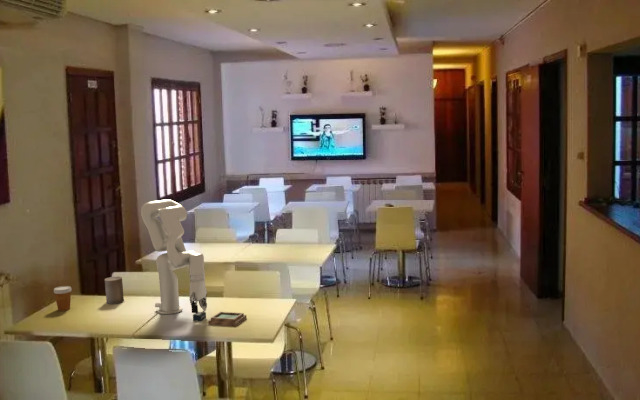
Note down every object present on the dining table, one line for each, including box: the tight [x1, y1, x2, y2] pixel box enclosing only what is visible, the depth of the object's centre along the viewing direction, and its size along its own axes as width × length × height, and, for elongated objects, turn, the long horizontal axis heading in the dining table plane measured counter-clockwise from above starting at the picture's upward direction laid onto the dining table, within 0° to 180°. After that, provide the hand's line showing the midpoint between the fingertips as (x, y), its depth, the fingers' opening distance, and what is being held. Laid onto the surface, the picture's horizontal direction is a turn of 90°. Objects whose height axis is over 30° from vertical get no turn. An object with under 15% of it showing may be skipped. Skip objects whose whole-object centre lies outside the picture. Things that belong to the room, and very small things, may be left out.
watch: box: [192, 299, 208, 322], centre depth 376 cm, size 6×8×11 cm
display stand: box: [207, 311, 247, 327], centre depth 371 cm, size 15×13×3 cm
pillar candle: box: [104, 276, 125, 305], centre depth 418 cm, size 10×10×15 cm
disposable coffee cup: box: [53, 285, 72, 312], centre depth 406 cm, size 10×10×12 cm
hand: (199, 310), depth 376 cm, fingers open, 9 cm apart
